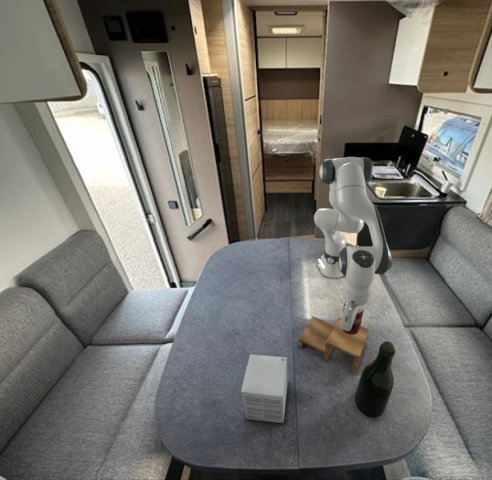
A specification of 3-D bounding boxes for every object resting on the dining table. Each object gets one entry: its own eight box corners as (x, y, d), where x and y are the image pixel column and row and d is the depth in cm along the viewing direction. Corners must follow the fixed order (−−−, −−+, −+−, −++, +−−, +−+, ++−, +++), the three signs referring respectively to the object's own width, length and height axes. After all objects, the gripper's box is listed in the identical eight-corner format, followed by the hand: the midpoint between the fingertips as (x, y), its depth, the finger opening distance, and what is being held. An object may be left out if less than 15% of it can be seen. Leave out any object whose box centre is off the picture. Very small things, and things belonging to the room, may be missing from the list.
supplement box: (253, 380, 100) (249, 353, 90) (288, 384, 99) (287, 356, 89) (245, 419, 89) (240, 392, 79) (283, 423, 88) (283, 397, 78)
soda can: (359, 337, 98) (364, 315, 91) (339, 334, 99) (343, 312, 92) (359, 321, 104) (363, 300, 97) (340, 319, 105) (344, 297, 98)
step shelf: (312, 323, 122) (313, 306, 116) (364, 345, 112) (369, 329, 106) (298, 346, 112) (299, 329, 106) (355, 373, 102) (359, 356, 96)
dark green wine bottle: (357, 383, 99) (372, 326, 81) (386, 394, 95) (408, 337, 77) (351, 411, 91) (367, 354, 73) (383, 424, 87) (407, 368, 69)
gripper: (356, 317, 82) (350, 344, 90) (372, 279, 97) (366, 305, 105) (337, 309, 85) (333, 336, 92) (356, 273, 100) (351, 299, 107)
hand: (351, 319), depth 99 cm, fingers closed on soda can, 7 cm apart
